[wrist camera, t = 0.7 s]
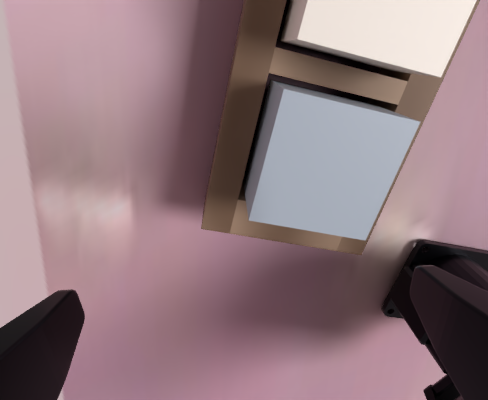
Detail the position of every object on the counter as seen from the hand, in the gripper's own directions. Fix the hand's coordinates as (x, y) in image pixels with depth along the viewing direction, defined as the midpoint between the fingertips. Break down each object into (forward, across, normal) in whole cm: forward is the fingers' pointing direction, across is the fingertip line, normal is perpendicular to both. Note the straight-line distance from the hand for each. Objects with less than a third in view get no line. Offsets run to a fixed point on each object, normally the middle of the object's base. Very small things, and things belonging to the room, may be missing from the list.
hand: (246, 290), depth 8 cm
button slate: (+9, -4, -1) cm, 9 cm away
